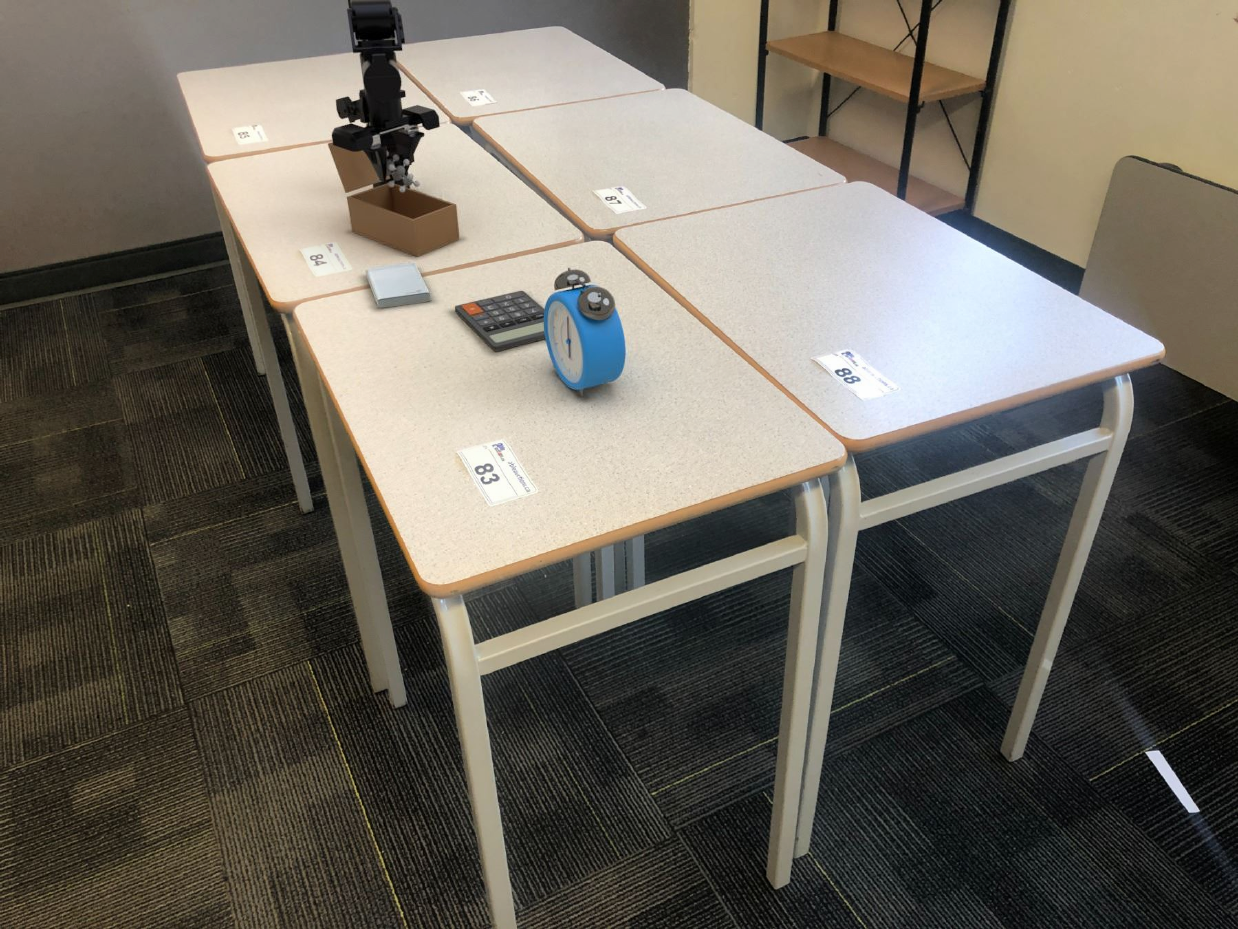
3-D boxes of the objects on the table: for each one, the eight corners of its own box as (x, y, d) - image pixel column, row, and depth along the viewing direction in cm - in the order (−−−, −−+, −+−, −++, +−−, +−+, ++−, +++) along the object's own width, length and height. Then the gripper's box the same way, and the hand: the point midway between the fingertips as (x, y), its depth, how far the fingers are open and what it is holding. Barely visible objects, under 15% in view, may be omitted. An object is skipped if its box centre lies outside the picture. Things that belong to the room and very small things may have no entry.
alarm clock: (543, 365, 133) (539, 265, 124) (583, 355, 136) (581, 256, 127) (586, 409, 124) (585, 304, 115) (627, 397, 126) (629, 294, 118)
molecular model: (425, 193, 162) (422, 164, 159) (403, 199, 160) (399, 169, 157) (387, 171, 170) (383, 143, 167) (366, 176, 168) (361, 148, 165)
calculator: (522, 289, 151) (566, 327, 140) (522, 294, 151) (566, 332, 141) (453, 304, 146) (494, 345, 135) (454, 310, 146) (494, 351, 136)
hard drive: (430, 291, 148) (415, 260, 158) (377, 299, 146) (364, 267, 155) (431, 301, 149) (416, 270, 159) (378, 309, 147) (366, 276, 156)
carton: (352, 231, 172) (346, 196, 168) (394, 216, 178) (390, 182, 175) (417, 256, 163) (412, 220, 159) (459, 239, 170) (456, 204, 166)
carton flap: (346, 192, 168) (345, 192, 168) (390, 178, 174) (389, 178, 174) (328, 143, 164) (327, 143, 165) (373, 130, 171) (372, 130, 171)
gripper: (393, 64, 165) (404, 154, 174) (303, 86, 153) (320, 181, 162) (437, 76, 159) (446, 168, 168) (346, 99, 147) (361, 197, 157)
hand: (393, 178), depth 164 cm, fingers closed on molecular model, 4 cm apart
